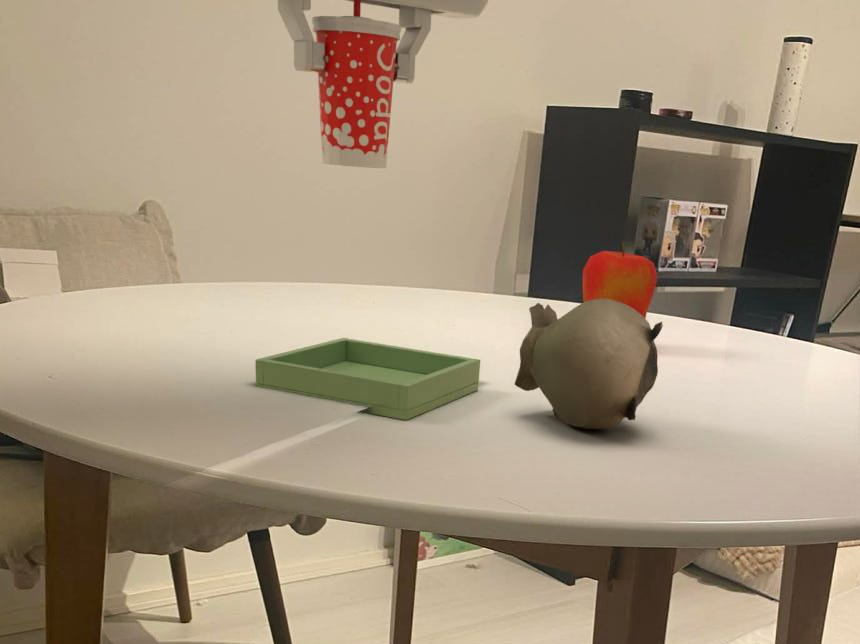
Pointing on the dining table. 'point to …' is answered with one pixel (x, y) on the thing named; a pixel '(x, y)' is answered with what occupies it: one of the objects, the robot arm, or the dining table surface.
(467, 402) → the dining table surface
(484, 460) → the dining table surface
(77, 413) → the dining table surface
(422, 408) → the drinks tray
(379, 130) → the beverage cup
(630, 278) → the apple
